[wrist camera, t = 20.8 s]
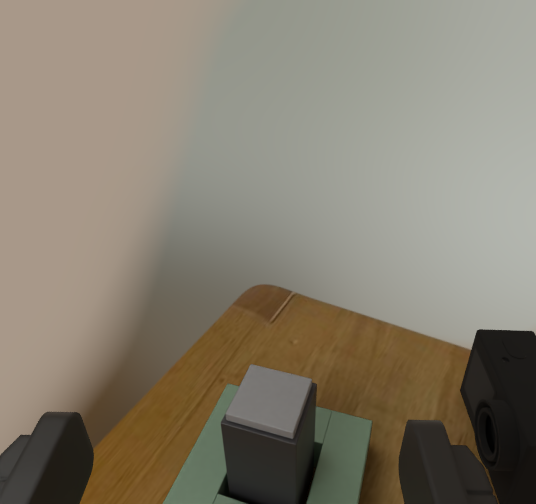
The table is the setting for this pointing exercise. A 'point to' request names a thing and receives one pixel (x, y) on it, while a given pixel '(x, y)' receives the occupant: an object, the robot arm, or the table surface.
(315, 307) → the table surface
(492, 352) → the digital camera
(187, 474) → the frame
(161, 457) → the table surface
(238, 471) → the dark grey tall block
